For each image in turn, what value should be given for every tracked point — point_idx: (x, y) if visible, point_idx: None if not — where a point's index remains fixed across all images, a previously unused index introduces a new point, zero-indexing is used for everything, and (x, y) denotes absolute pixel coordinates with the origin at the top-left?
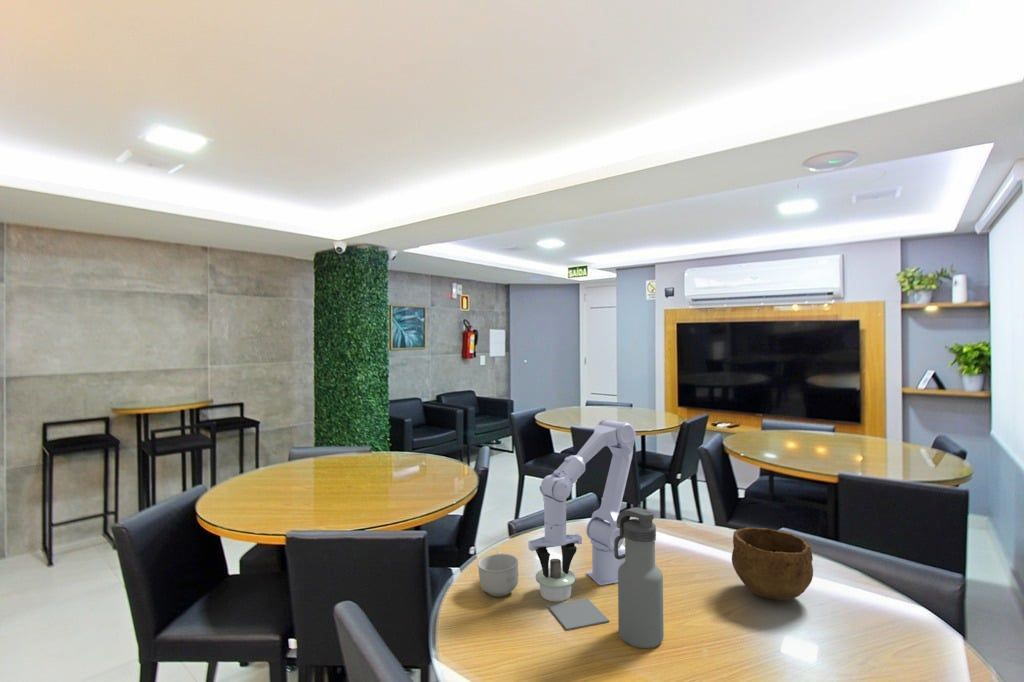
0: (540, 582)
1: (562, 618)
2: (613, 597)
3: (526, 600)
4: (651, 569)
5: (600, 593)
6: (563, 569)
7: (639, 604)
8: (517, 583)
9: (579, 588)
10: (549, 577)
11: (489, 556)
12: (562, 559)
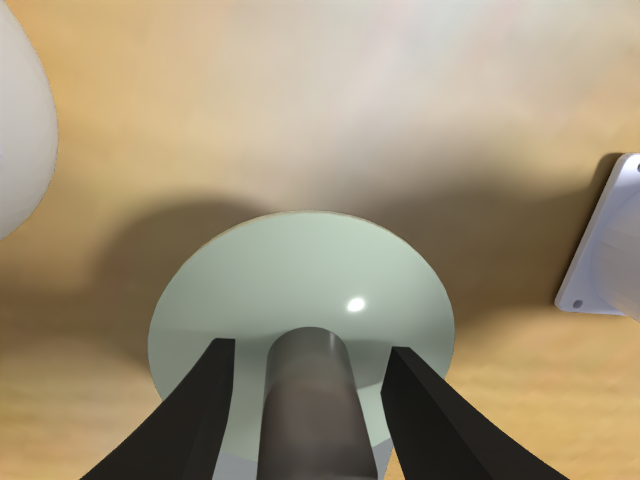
0: (160, 389)
1: (219, 471)
2: (513, 397)
3: (117, 285)
4: None
5: (497, 356)
6: (394, 372)
7: None
8: (39, 200)
9: (451, 284)
10: (254, 362)
11: None
12: (437, 411)
